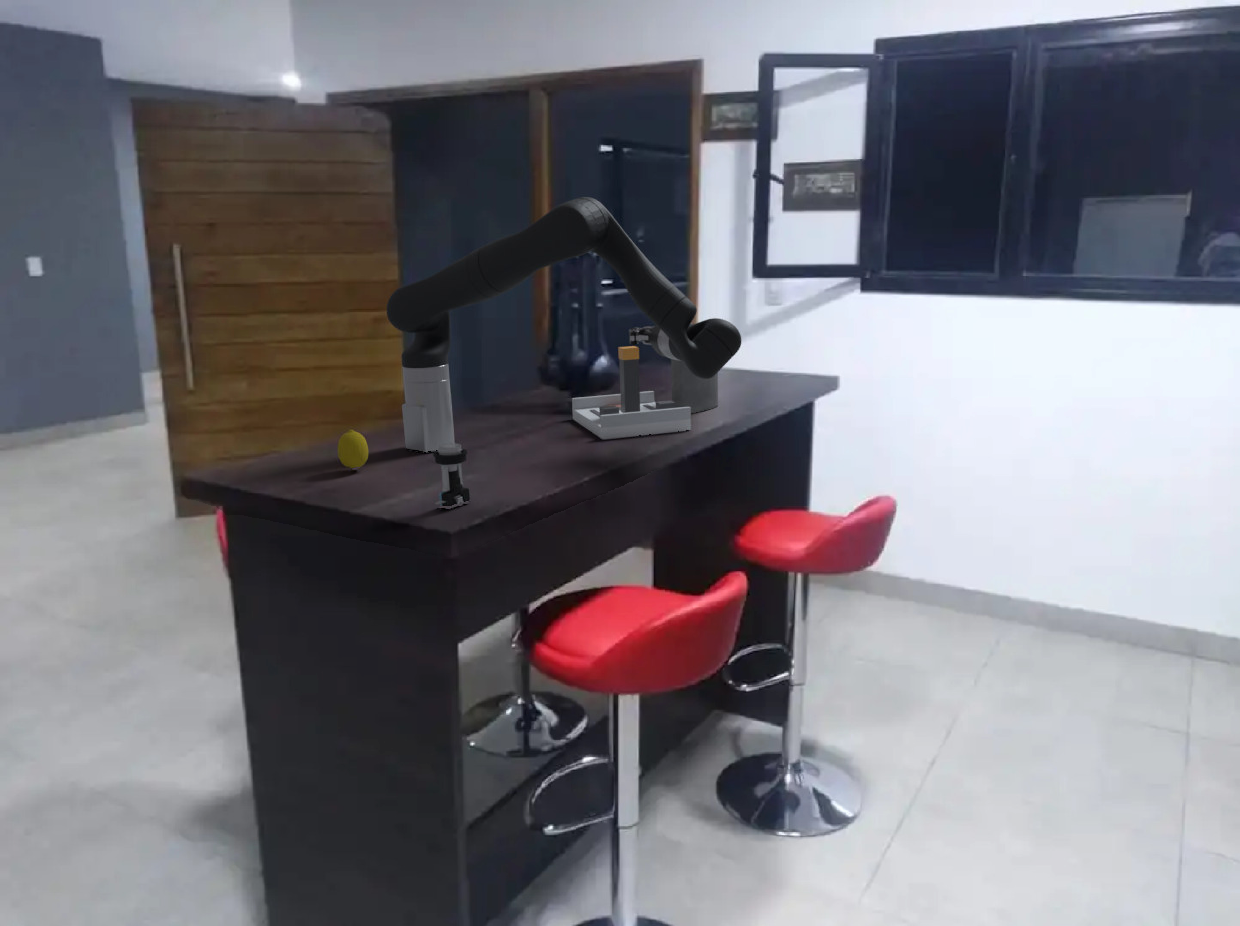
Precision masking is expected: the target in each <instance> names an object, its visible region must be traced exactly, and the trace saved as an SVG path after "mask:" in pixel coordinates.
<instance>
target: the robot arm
mask: <svg viewBox="0 0 1240 926" xmlns="http://www.w3.org/2000/svg"><path fill="white" fill-rule="evenodd" d="M591 252H593V253H594V254H596V255H597V256H598V257H600V258H601V259H603V260H604V261H605V262H606V263H607V264H608V265H609V266H610V267H611V268H612V269H613V270H614V271H615V272H616V274H617V275H618V276H619V278H620V280H621V281H622V284H623V285H624V287H625V288H626V291H627V292H628V295H629V296H630V298H631V300H632V301H633V302H634V304H635V305H636V306H637V308H638V309H639V310H640V311H641V312H642V313H643V314H644V315H645V316H646V317H647V318H648V319H649V320H650V321H652V322H653V323H654V325H653V326H643V327H638V326H636V327H633V328H629V329H628V333H629V334H628V335H629V337H628V338H629V339H628V340H629V344H630V346H631V345H632V346H637V344H638V345H639V344H640V342H642V343H643V345H649V346H651V347H652V349H653V350H654V352H656V353H657V354H658V355H660V356H662V357H664V358H668V359H670V360H671V359H674V360H678V361H684V362H685V364H686V366H687V367H688V368H689V370H690V371H691V372H692V373H693V374H694V375H695V376H697V377H699V378H703V379H710V378H712V377H713V376H715V375H716V374H717V373H718V374H719V372H720V370H722V369H723V368H724V367H725V365H727V364H728V362H729V361H730V360H731V359H733V357H734V356H735V355H736V354H737V353H738V351H739V350H740V349H741V346H742V336H741V333H740V331H739V330H738V328H737V327H736V325H734V324H733V323H732V322H730V321H728V320H726V319H723V318H719V317H718V318H716V317H713V318H708V319H704V320H701V321H699V322H696V323H692V322H693V321H694V319H695V317H696V315H697V312H698V309H697V308H698V307H696V305H695V303H693V302H692V301H691V299H689V298H688V297H687V296H686V295H685V294H684V293H683V292H682V291H681V290H680V289H678V288H677V286H675V285H674V284H673V283H672V282H671V281H670V280H669V279H668V278H666V276H665V275H663V274H662V273H661V272H660V270H658V268H656V267H655V265H653V263H652V262H651V261H650V260H649V259H648V258H647V257H646V256H645V254H644V253H643V252H642V251H641V250H640V249H639V247H638V246H637V245H636V244H635V242H633V240H632V239H631V238H630V237H629V235H628V234H627V233H626V232H625V230H624V229H623V227H622V226H621V225H620V224H619V223H618V221H617V220H616V218H615V217H614V216H613V215H612V213H610V211H609V210H608V209H607V208H606V207H605V206H604V204H602V203H601V202H600V201H598V199H595V198H593V197H588V196H581V197H577V198H574V199H571V200H569V201H565V202H563V203H561V204H558V205H556V207H554V208H553V209H551V210H550V211H548V212H547V213H546V214H545V215H543V216H542V217H539V219H538V220H536V221H535V222H533V223H532V224H530V225H528V226H527V227H526V228H524V229H522V230H520V231H519V232H516V233H514V234H511V235H507V236H504V237H501V238H498V239H495V240H493V241H491V242H489V243H487V244H485V245H483V246H480V247H478V248H477V249H475V250H473V251H471V252H470V253H468V254H467V255H465V256H463V257H461V258H459V259H457V260H456V261H453V262H452V263H451V264H449V265H448V266H446V267H444V268H442V269H440V270H438V271H437V272H436V273H434V274H432V275H429V276H428V277H426V278H423V279H421V280H417V281H416V282H412V283H409V284H406V285H404V286H400V287H398V288H397V289H396V290H395V291H393V292H392V293H391V295H390V296H389V298H388V301H387V304H386V316H387V319H388V321H389V323H390V324H391V326H393V327H394V328H395V329H397V330H398V331H401V332H403V333H408V334H409V333H411V334H414V339H413V341H412V343H411V344H410V345H409V346H408V347H407V348H406V349H405V350H404V351H402V353H401V356H400V357H401V366H402V367H401V368H402V376H403V389H404V399H405V403H403V404H402V405H401V409H402V411H401V412H402V420H403V431H404V440H405V441H404V443H405V449H406V448H410V449H415V450H419V451H423V452H422V453H424V452H426V453H429V452H428V451H431V452H435V451H436V450H438V447H439V446H440V445H444V444H456V443H455V431H454V430H455V429H454V418H453V417H454V416H453V407H452V403H453V402H452V394H451V381H450V370H449V368H450V367H449V354H450V351H451V342H452V341H451V314H450V312H451V311H452V310H455V309H460V308H464V307H465V308H466V307H468V306H472V305H476V304H480V303H483V302H486V301H489V300H492V299H494V298H496V297H498V296H501V295H503V294H505V293H507V292H509V291H511V290H512V289H514V288H516V287H518V286H519V285H521V284H522V283H523V282H524V281H526V280H527V279H528V278H530V277H531V276H532V275H533V274H535V272H538V271H539V270H542V269H544V268H547V267H549V266H552V265H554V264H558V263H560V262H563V261H567V260H570V259H574V258H578V257H580V256H583V255H586V254H587V253H591Z"/></svg>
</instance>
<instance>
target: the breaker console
mask: <svg viewBox="0 0 1240 926" xmlns="http://www.w3.org/2000/svg"><path fill="white" fill-rule="evenodd" d="M571 403H572V404H571V406H572V407H571V409H572V420H573V421H575V422H576V423H578V424H579V425H581V426H582V427H584V428H585V429H587V430H588V431H590V432H592V434H594V435H595V436H597V437H598V438H599V439H601V440H611V439H622V438H631V437H640V436H639V435H641V436H649V434H651V435H658V434H669V433H679V432H687V431H686V430H689V431H692V414H691V407H680V408H676V406H675V402H673V401H672V399H671V400H670V399H669V400H662V401H661V400H660V401H655V391H653V390H648V391H647V390H646V391H640V411H638V412H628V413H622V412H621V394H620V393H615V394H605V395H595V396H583V397H573V398H571ZM678 431H679V432H678Z"/></svg>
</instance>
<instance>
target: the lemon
mask: <svg viewBox="0 0 1240 926" xmlns="http://www.w3.org/2000/svg"><path fill="white" fill-rule="evenodd" d="M337 456H338V458H339V461H340V462H341V465H343V466H345V467H346V468H348V467H350V468H349V469H351V468H355V467H359V468H361V467H362V466H364V465H365V464H366V462H367V460H368V458H369V447H368V442H367V440H366V438H365V436H363V434H361V433H360V432H358V431H355V430H354V429H349V430H348V431H347V432H344V434H343V435H341V436H340V438H339V439H338V442H337Z"/></svg>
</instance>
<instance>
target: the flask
mask: <svg viewBox="0 0 1240 926" xmlns="http://www.w3.org/2000/svg"><path fill="white" fill-rule="evenodd" d="M670 365H671V366H670V367H671V368H670V369H671V370H670V371H671V373H670V374H671V401H673V402H675V406H676V408H680V407H691V413H693V414H697V413H696V412H698V413H701V412H700V411H703V412H705V411H704V410H707V411H710V410H713V409H715V408H717V407H718V406H719V380H718V379H719V377H718V376H719V372H718V373H717V374H716V375H715V376H713V377H712V378H710V379H703V378H699V377H697V376H695V375H694V374H693V373H692V372H691V371H690V370H689V368H688V367H687V366H686V364H685V362H684V361H678V360H674V359H670ZM712 408H713V409H712ZM709 409H710V410H709Z"/></svg>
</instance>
